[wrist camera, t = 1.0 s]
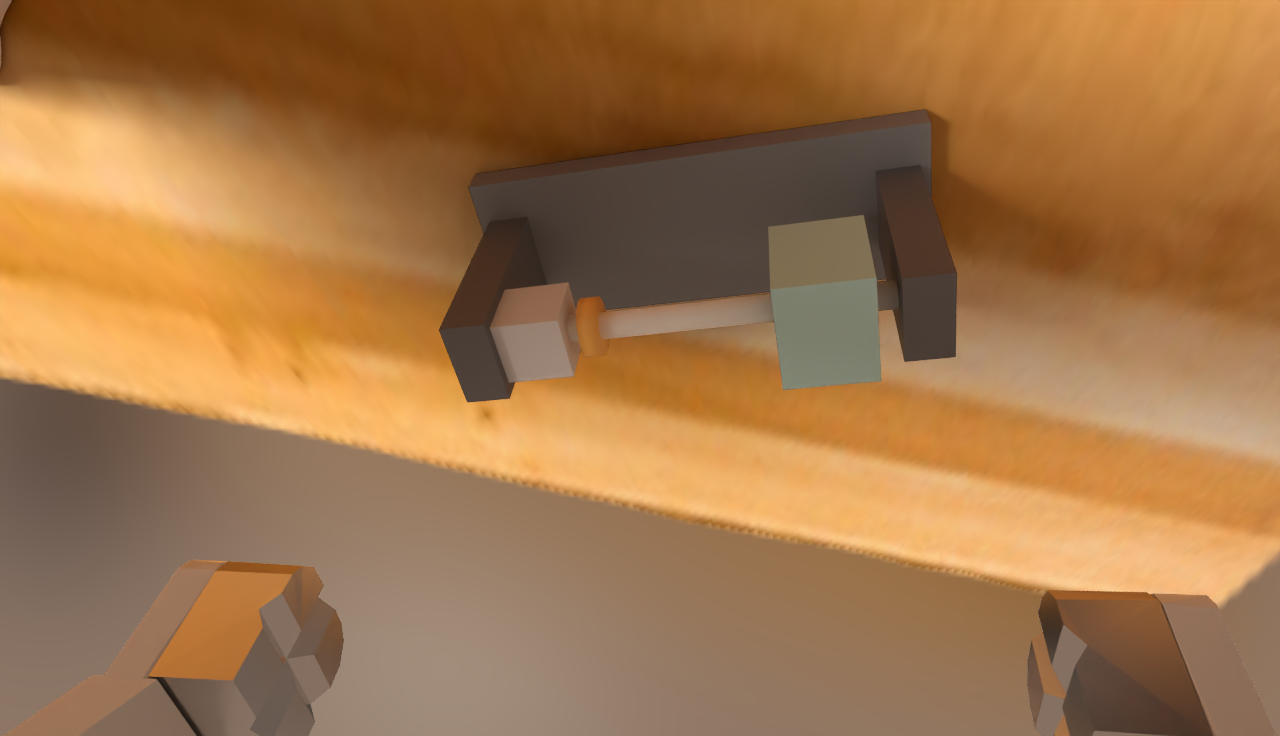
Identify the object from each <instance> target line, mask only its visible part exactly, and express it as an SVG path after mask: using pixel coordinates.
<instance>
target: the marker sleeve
mask: <svg viewBox="0 0 1280 736" xmlns="http://www.w3.org/2000/svg"><path fill="white" fill-rule="evenodd" d="M768 237H769V268H770V292H771V300H772V308H773V316H774V323H775V331H776V339H777V347H778V355H779V362H780V370H781V378H782V386H783V390H787V389H799V388H810V387H821V386H832V385H843V384H854V383H866V382H877V381H881V364H880V343H879V321H878V300H877V279H876V273H875V268H874V263H873V259H872V254H871V249H870V244H869V239H868V234H867V229H866V224H865V220H864V215H859V216H851V217H843V218H835V219H827V220H819V221H811V222H803V223H795V224H787V225H779V226H770V227H768Z"/></svg>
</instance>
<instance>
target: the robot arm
mask: <svg viewBox="0 0 1280 736" xmlns="http://www.w3.org/2000/svg"><path fill="white" fill-rule="evenodd" d="M11 1H12V0H0V26H1V22H2V19H3V17H4V14H5V12H6V10H7V9H8V7H9V5H10V3H11ZM0 67H1V38H0ZM323 586H324V585H323V583H322V581H321V579H320V577H319V575H318V574H317V572H316V570H315V568H314V567H307V566H294V565H277V564H261V563H246V562H230V561H207V560H206V561H205V560H190V561H188V562H187V563H185V564H184V565H182V566H181V567H179V568H178V569H177V570H176V571H175V573H174V574H173V576H172V577H171V579H170V580H169V582H168V583H167V585H166V586H165V588H164V589H163V590H162V592H161V593H160V595H159V596H158V597H157V599H156V600H155V602H154V603H153V605H152V606H151V608H150V609H149V610H148V612H147V614H146V615H145V616H144V618H143V619H142V621H141V622H140V624H139V625H138V626H137V628H136V629H135V631H134V632H133V634H132V635H131V637H130V638H129V639H128V641H127V642H126V644H125V645H124V647H123V648H122V650H121V651H120V653H119V654H118V655H117V657H116V658H115V660H114V661H113V663H112V665H111V666H110V667H109V668H108V670H107V671H106V673H105V674H104V675H103V676H102V675H92V676H90V677H89V678H87V679H86V680H84V681H83V682H81V683H80V684H78V685H77V686H75V687H74V688H73V689H71V690H70V691H68V692H67V693H65V694H64V695H62V696H61V697H59V698H58V699H56V700H55V701H53V702H52V703H50V704H49V705H47V706H46V707H44V708H43V709H41V710H40V711H39V712H37V713H36V714H34V715H33V716H31V717H30V718H28V719H27V720H25V721H24V722H22V723H21V724H19V725H18V726H16V727H15V728H13V729H12V730H10V731H9V732H8V733H6V734H5V735H3V736H309V734H310V731H311V729H312V727H313V725H314V723H315V720H314V716H313V712H312V708H311V703H312V702H313V701H315V700H316V699H317V698H318V697H319V696H321V695H322V694H323V693H324V692H326V691H327V690H328V689H329V688H330V687H331V685H332V683H333V680H334V678H335V675H336V673H337V671H338V668H339V666H340V661H341V655H342V649H343V642H344V639H343V632H342V625H341V622H340V619H339V617H338V615H337V612H336V610H335V609H333V608H332V607H331V606H330V605H328V604H327V603H325V602H324V601H323V600H321V599H320V598H319V597H318V596H319V594H320V592H321V590H322V588H323ZM1038 614H1039V618H1040V622H1041V626H1042V630H1043V632H1042V633H1041V634H1039V635H1038V636H1036V637H1035V638H1033V639H1032V640H1031V645H1030V651H1029V656H1028V674H1027V675H1028V676H1027V681H1028V682H1027V686H1028V694H1029V701H1030V708H1031V712H1032V717H1033V721H1034V726H1035V729H1036V730H1037V731H1038V732H1039V733H1040V734H1041V735H1042V736H1277V734H1276V732H1275V730H1274V728H1273V726H1272V724H1271V722H1270V719H1269V717H1268V715H1267V713H1266V711H1265V708H1264V706H1263V704H1262V702H1261V700H1260V698H1259V696H1258V694H1257V691H1256V689H1255V687H1254V685H1253V683H1252V680H1251V678H1250V676H1249V674H1248V672H1247V670H1246V668H1245V665H1244V663H1243V661H1242V659H1241V657H1240V655H1239V652H1238V650H1237V648H1236V646H1235V644H1234V642H1233V640H1232V637H1231V635H1230V633H1229V631H1228V629H1227V627H1226V624H1225V622H1224V620H1223V618H1222V616H1221V614H1220V611H1219V609H1218V607H1217V605H1216V604H1215V603H1214V602H1213V601H1212V600H1211V599H1210V598H1209V597H1208V596H1206V595H1179V594H1148V593H1147V592H1106V591H1060V590H1048V591H1047V592H1046V593H1045V594H1044V596H1043V597H1042V600H1041V604H1040V608H1039V611H1038Z"/></svg>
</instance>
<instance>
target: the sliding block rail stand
mask: <svg viewBox="0 0 1280 736" xmlns="http://www.w3.org/2000/svg"><path fill="white" fill-rule="evenodd" d="M468 188H469V191H470V194H471V197H472V200H473V203H474V206H475V209H476V212H477V215H478V218H479V221H480V224H481V227H482V230H483V233H484V235H483V237H482V239H481V241H480V243H479V245H478V247H477V250H476V252H475V254H474V256H473V258H472V260H471V262H470V265H469V267H468V269H467V271H466V273H465V275H464V277H463V280H462V282H461V284H460V286H459V288H458V290H457V292H456V294H455V297H454V299H453V301H452V303H451V305H450V307H449V309H448V312H447V314H446V316H445V318H444V320H443V322H442V324H441V326H440V329H439V331H440V334H441V337H442V339H443V342H444V344H445V347H446V349H447V352H448V354H449V357H450V359H451V362H452V365H453V367H454V370H455V372H456V375H457V377H458V380H459V382H460V385H461V388H462V390H463V393H464V395H465V398H466V400H467V402H477V401H488V400H499V399H510V396H511V393H512V390H513V387H514V384H515V382H522V381H532V380H543V379H553V378H563V377H574V374H575V370H576V366H577V362H578V358H579V354H580V350H582V352H583V354H584V355H585V356H586V357H592V356H602V355H606V354H607V351H608V346H609V339H612V338H621V337H631V336H641V335H650V334H660V333H669V332H679V331H689V330H698V329H708V328H718V327H727V326H737V325H746V324H756V323H766V322H774V316H773V308H772V300H771V294H762V295H753V296H744V297H735V298H725V299H716V300H707V301H698V302H689V303H680V304H671V305H662V306H653V307H644V308H634V309H625V310H616V311H607V312H606V310H611V309H620V308H629V307H638V306H647V305H656V304H665V303H674V302H683V301H692V300H701V299H711V298H720V297H729V296H738V295H747V294H756V293H765V292H770V268H769V237H768V227H770V226H779V225H787V224H795V223H803V222H811V221H819V220H827V219H835V218H843V217H851V216H859V215H864V220H865V224H866V229H867V234H868V239H869V244H870V249H871V254H872V259H873V263H874V268H875V273H876V279H877V280H883V279H886V280H887V281H880V282H877V300H878V311H881V310H891V309H893V312H894V316H895V321H896V325H897V330H898V334H899V339H900V343H901V348H902V352H903V357H904V361H905V362H907V361H918V360H929V359H939V358H950V357H956V292H957V272H956V269H955V266H954V263H953V260H952V258H951V255H950V252H949V249H948V246H947V243H946V240H945V237H944V234H943V231H942V228H941V225H940V222H939V219H938V216H937V213H936V210H935V207H934V204H933V202H932V199H931V121H930V118H929V116H928V113H927V111H926V109H925V110H918V111H911V112H904V113H897V114H891V115H884V116H877V117H870V118H863V119H856V120H849V121H842V122H835V123H828V124H821V125H814V126H807V127H800V128H793V129H786V130H779V131H772V132H765V133H758V134H751V135H744V136H737V137H730V138H723V139H716V140H709V141H702V142H695V143H688V144H681V145H674V146H667V147H661V148H654V149H647V150H640V151H633V152H626V153H619V154H612V155H605V156H598V157H591V158H584V159H577V160H570V161H563V162H556V163H549V164H542V165H535V166H528V167H521V168H514V169H507V170H500V171H493V172H486V173H479V174H475V176H474V178H473V180H472V181H471V183H470V185H469V187H468Z"/></svg>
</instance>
